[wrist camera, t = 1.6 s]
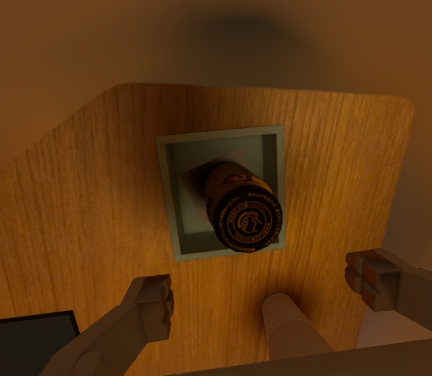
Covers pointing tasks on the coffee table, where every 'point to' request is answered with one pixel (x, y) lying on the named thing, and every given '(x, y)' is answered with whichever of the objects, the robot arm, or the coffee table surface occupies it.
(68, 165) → the coffee table surface
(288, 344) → the cup
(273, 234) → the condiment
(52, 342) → the mat
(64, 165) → the coffee table surface
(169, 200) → the tray
